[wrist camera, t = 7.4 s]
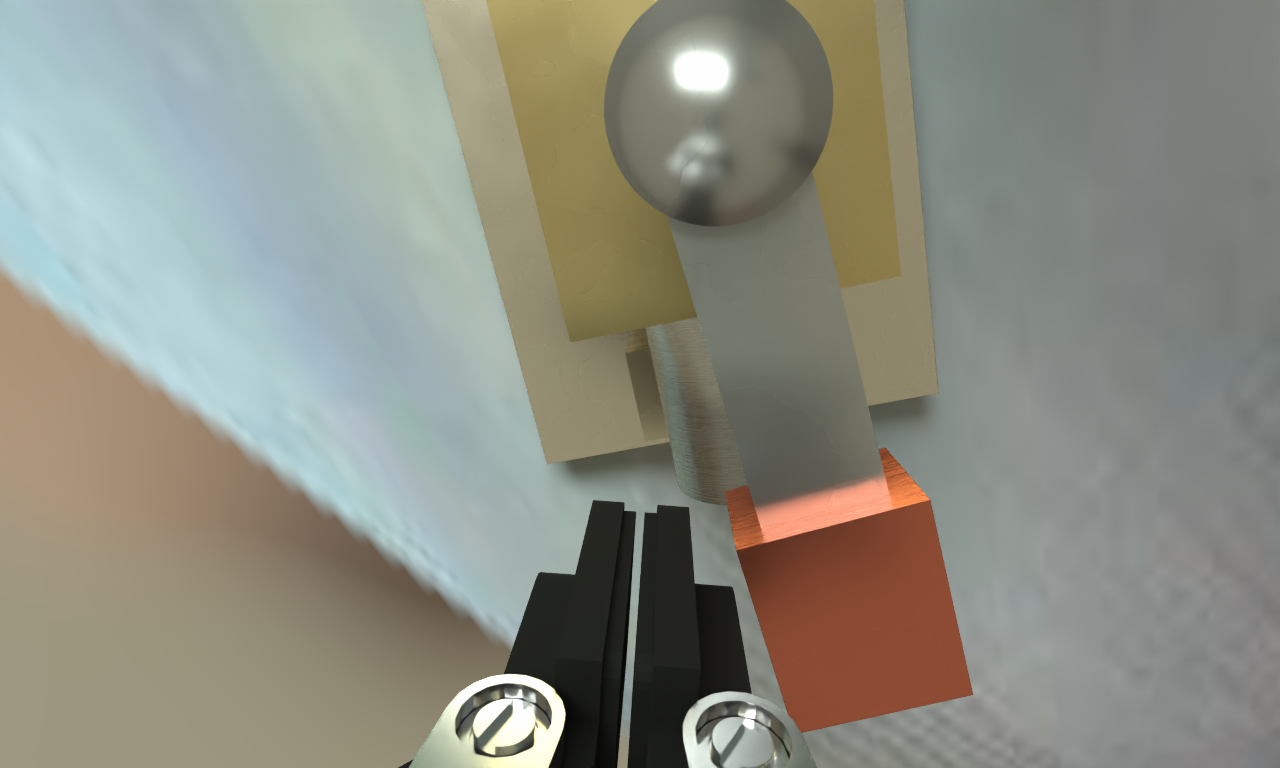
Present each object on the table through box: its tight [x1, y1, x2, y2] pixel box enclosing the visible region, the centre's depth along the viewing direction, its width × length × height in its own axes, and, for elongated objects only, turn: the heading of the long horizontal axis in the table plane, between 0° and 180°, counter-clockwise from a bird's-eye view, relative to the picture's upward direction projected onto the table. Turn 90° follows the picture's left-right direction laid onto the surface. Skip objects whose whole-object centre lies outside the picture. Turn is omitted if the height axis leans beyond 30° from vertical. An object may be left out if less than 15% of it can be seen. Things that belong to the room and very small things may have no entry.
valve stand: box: [422, 0, 938, 505], centre depth 14 cm, size 12×16×10 cm
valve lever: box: [604, 0, 973, 733], centre depth 9 cm, size 10×3×2 cm, turn 18°
